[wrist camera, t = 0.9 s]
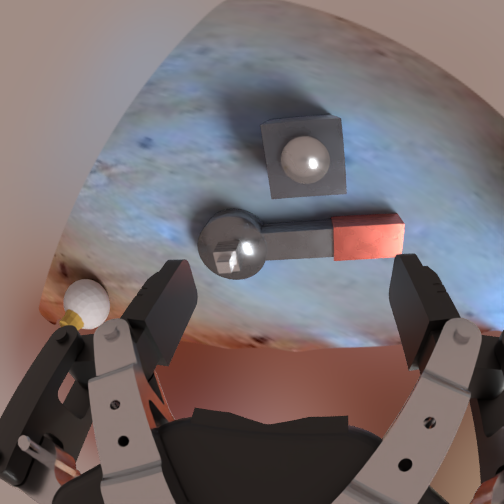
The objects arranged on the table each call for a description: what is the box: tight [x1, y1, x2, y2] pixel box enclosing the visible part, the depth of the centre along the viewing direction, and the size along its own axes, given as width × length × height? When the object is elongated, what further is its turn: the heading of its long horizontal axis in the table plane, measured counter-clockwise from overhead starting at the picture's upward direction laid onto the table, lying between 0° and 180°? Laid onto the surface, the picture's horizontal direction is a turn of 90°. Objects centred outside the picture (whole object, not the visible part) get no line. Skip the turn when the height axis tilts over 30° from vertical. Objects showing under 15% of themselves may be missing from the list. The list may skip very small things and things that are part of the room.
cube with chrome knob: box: [260, 114, 347, 199], centre depth 21 cm, size 6×6×6 cm
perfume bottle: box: [60, 279, 110, 330], centre depth 34 cm, size 8×10×12 cm
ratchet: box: [198, 209, 404, 280], centre depth 26 cm, size 20×7×6 cm, turn 99°
